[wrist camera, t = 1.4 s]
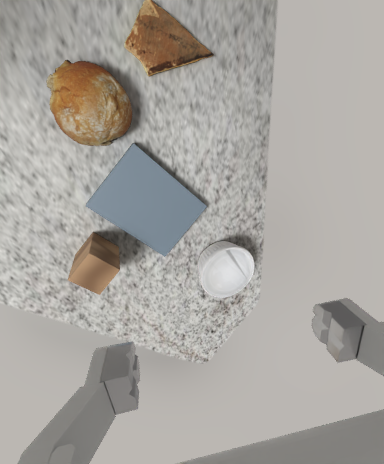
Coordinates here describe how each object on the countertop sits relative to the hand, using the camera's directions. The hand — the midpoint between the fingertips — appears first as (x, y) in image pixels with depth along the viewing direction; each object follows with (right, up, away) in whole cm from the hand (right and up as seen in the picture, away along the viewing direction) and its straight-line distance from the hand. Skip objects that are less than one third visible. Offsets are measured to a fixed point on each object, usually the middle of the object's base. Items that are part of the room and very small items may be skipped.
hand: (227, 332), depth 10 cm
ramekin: (+4, -2, +39) cm, 40 cm away
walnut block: (-18, +1, +30) cm, 35 cm away
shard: (-5, +32, +23) cm, 39 cm away
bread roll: (-16, +22, +23) cm, 36 cm away
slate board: (-9, +9, +30) cm, 33 cm away
